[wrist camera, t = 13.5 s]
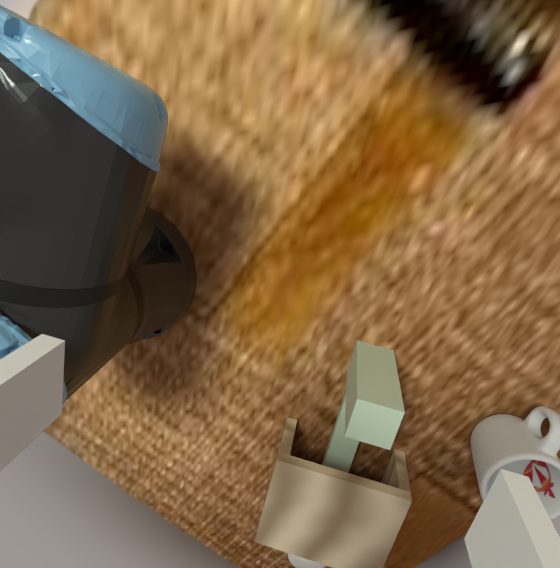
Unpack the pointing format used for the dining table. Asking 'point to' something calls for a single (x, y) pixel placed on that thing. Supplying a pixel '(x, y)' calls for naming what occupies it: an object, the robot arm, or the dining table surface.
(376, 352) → the sage green mallet
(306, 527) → the beige arch
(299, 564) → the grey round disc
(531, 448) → the cup
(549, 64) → the dining table surface
